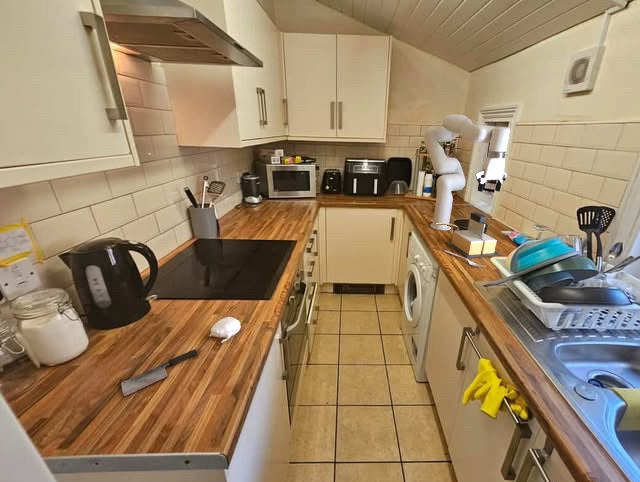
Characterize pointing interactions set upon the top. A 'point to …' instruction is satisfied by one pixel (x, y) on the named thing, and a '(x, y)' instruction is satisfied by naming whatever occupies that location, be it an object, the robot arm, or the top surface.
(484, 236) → the cake
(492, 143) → the robot arm
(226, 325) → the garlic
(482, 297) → the top surface
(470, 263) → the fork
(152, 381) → the cleaver
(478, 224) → the knife
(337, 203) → the top surface
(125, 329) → the top surface
